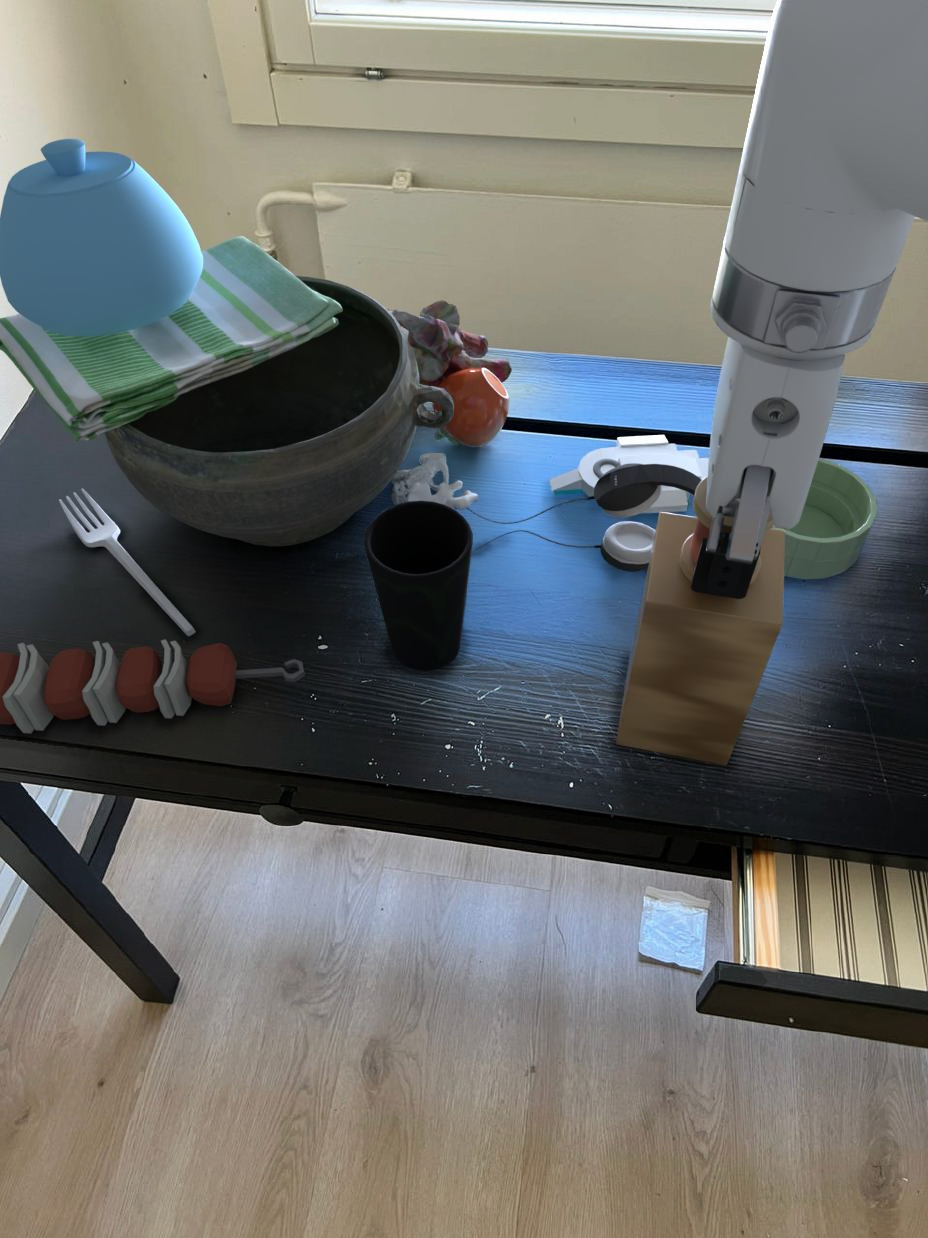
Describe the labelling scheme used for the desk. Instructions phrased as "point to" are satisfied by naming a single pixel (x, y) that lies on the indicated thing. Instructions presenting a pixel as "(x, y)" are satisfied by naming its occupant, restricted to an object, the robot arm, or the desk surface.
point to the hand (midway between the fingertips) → (720, 556)
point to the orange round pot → (474, 407)
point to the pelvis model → (429, 484)
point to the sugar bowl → (93, 244)
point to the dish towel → (172, 342)
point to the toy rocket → (640, 453)
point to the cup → (421, 579)
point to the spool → (707, 532)
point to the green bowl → (829, 524)
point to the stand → (698, 652)
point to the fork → (118, 553)
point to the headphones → (629, 510)
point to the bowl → (288, 432)
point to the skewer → (118, 683)
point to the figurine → (445, 344)
